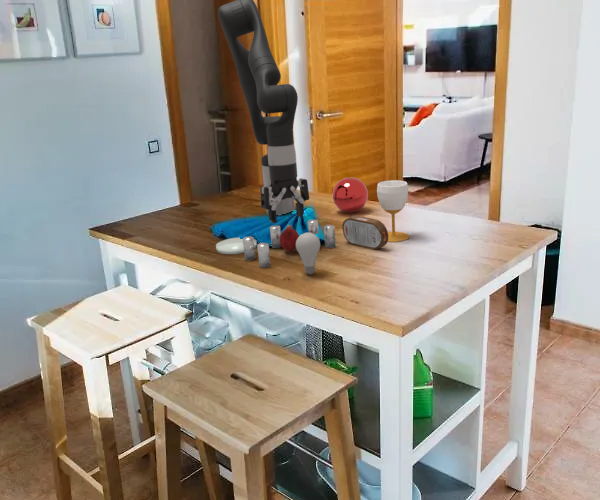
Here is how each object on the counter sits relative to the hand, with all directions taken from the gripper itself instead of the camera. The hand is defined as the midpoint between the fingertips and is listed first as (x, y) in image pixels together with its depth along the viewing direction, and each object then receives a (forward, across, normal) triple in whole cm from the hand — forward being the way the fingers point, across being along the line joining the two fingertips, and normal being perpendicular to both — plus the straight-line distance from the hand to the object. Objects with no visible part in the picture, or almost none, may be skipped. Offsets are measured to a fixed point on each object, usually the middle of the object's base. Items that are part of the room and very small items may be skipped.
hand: (286, 219), depth 167 cm
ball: (+10, -38, -20) cm, 44 cm away
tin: (+10, -18, +11) cm, 24 cm away
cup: (+10, -30, +11) cm, 33 cm away
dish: (+10, +9, -16) cm, 20 cm away
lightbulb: (+10, +5, +18) cm, 21 cm away
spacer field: (+10, 0, 0) cm, 10 cm away
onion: (+10, 0, 0) cm, 10 cm away
